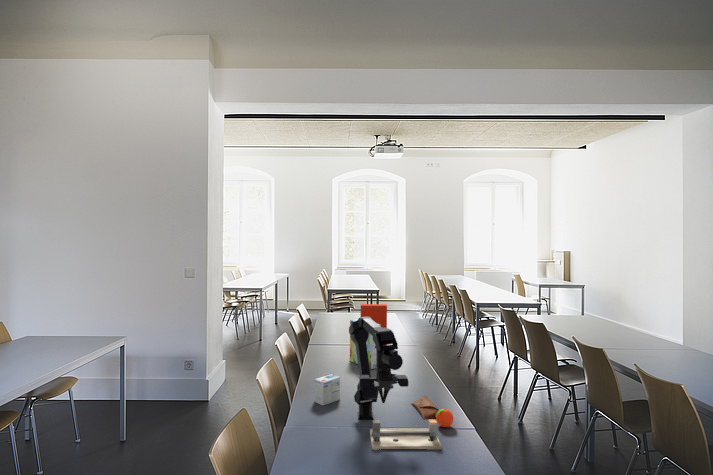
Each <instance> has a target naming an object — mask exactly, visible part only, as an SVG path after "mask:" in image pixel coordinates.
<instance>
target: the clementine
mask: <svg viewBox="0 0 713 475" xmlns="http://www.w3.org/2000/svg"><path fill="white" fill-rule="evenodd" d="M435 417H436V419H435V420H436V421H437V425H439V426H440V427H443V428H449V427H450V426H452V425H453V422H454V413H452V411H451V410H449V409H447V408H440V409H439V411H438V412H437V414H436V416H435Z"/></svg>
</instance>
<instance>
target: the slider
mask: <svg viewBox="0 0 713 475" xmlns="http://www.w3.org/2000/svg"><path fill="white" fill-rule="evenodd" d="M428 428H429V437H430V438H433V440H435V438H437V437H438V435H437V434H438V430H437V428H438V423H437V420H436V419H428Z"/></svg>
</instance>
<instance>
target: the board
mask: <svg viewBox="0 0 713 475" xmlns="http://www.w3.org/2000/svg"><path fill="white" fill-rule="evenodd" d="M369 435H370V436H369V437H370V444H371V450H372V451H382V450H381V449H427V450H442V449H443V446H442V444H441V442H440V440H439V438H438V436H437V438H435V440H433V438H430V437H429V427H427V428H426V427H420V428H418V427H415V428H411V427H410V428H409V427H408V428H407V427H405V428H403V427H402V428H401V427H400V428H399V427H398V428H395V427H394V428H386V427H385V428H381V421H380V420H378V419H377V420H376V419H375V420H374V419H372V428H369ZM379 449H380V450H379Z"/></svg>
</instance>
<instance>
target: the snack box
mask: <svg viewBox="0 0 713 475" xmlns="http://www.w3.org/2000/svg"><path fill="white" fill-rule="evenodd" d="M358 319H359V318H355V319H350V320H349V322H350V323H349V326H350V325H351V324H352V323H353V322H355V321H357V320H358ZM378 325H379V326H380V327H381V324H378ZM366 345H367V352H368V359H369V366H370V370H374V369H375V370H376V348H375V346H376V345H375V343H374V341H373V336H372V335H371V334H370V333H369V337H368V339H367V342H366ZM349 362H351V363H353V364H355V365H358V360H357V352H356V345H355V343H354V342H353V341H352V340H351V336H350V335H349Z"/></svg>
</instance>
